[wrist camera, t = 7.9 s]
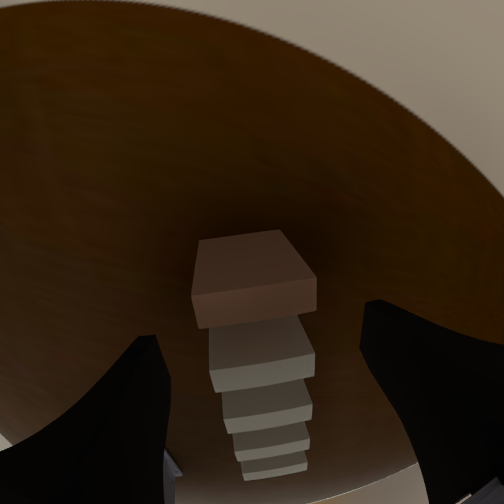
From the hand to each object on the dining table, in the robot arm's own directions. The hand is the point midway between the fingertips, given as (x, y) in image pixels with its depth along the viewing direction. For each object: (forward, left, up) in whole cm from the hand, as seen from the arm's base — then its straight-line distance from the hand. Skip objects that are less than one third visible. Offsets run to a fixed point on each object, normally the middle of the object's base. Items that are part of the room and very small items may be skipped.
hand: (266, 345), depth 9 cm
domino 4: (-12, 0, -9) cm, 15 cm away
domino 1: (0, 0, -9) cm, 9 cm away
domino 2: (-4, 0, -9) cm, 10 cm away
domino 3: (-8, 0, -9) cm, 12 cm away
